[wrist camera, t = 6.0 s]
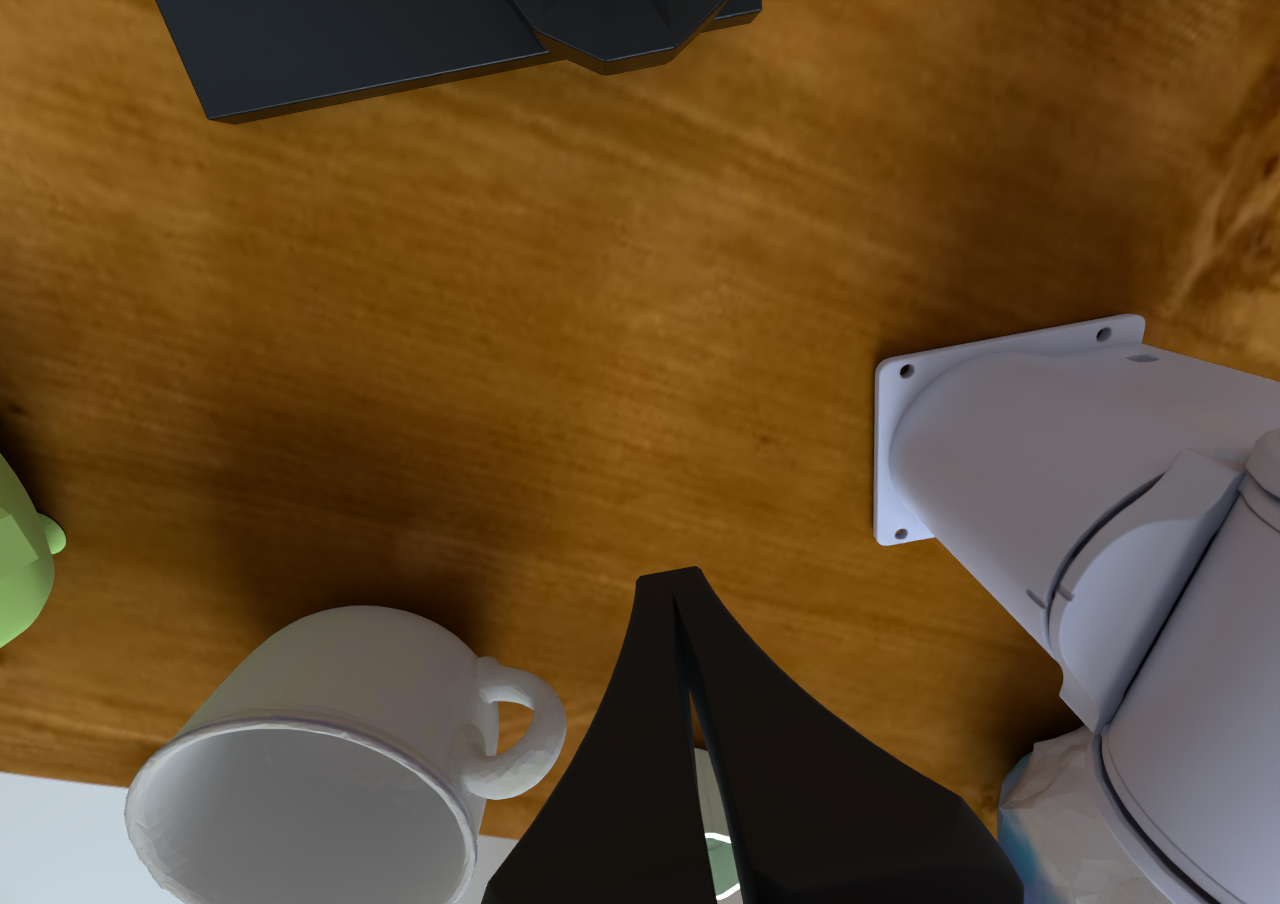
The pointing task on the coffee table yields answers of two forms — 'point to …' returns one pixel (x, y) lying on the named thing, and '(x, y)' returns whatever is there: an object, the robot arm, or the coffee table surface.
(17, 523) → the teapot
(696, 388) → the coffee table surface
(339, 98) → the scale
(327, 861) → the teacup
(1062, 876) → the decorative rock
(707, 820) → the pale green handleless cup
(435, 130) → the coffee table surface
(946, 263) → the coffee table surface
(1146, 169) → the coffee table surface
